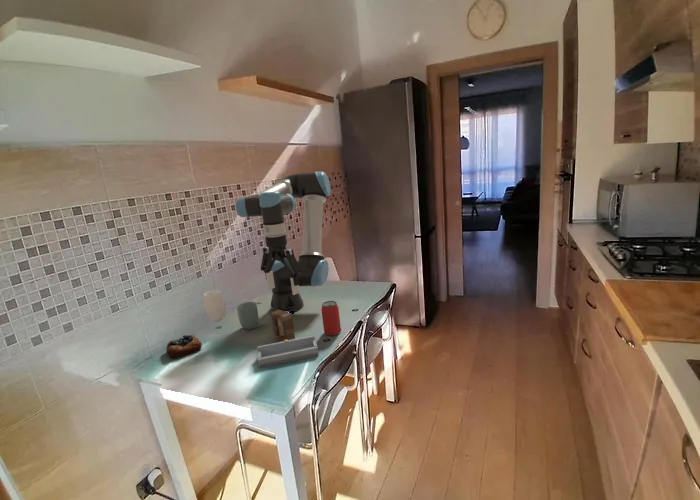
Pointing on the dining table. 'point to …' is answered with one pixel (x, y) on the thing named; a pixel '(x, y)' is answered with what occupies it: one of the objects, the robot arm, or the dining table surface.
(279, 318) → the frame
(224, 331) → the dining table surface
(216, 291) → the cup
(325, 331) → the beer can
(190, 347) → the pastry
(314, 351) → the grey trough
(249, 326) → the cup
